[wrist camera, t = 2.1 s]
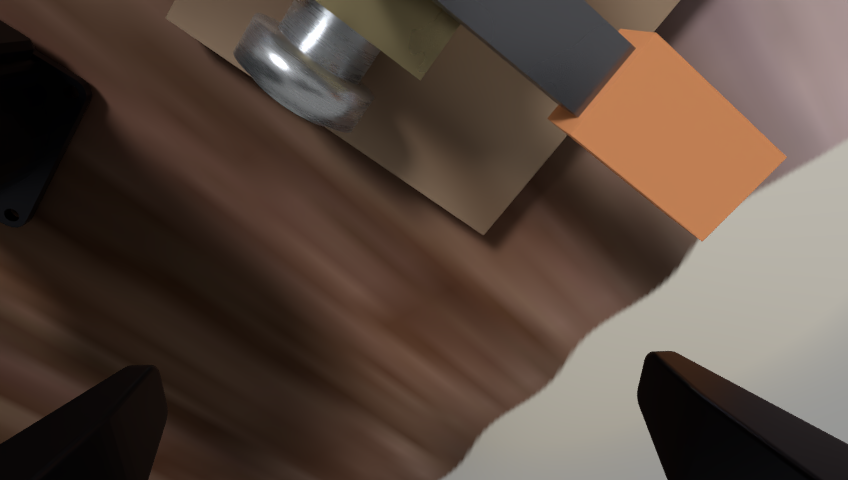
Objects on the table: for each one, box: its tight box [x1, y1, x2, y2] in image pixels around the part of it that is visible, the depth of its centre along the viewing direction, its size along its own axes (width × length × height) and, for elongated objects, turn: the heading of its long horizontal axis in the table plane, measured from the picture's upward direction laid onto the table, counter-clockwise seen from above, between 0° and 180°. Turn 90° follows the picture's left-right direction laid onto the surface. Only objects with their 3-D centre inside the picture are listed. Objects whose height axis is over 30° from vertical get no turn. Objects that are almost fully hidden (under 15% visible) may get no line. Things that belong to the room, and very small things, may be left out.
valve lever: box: [432, 0, 787, 241], centre depth 12 cm, size 11×3×2 cm, turn 54°
